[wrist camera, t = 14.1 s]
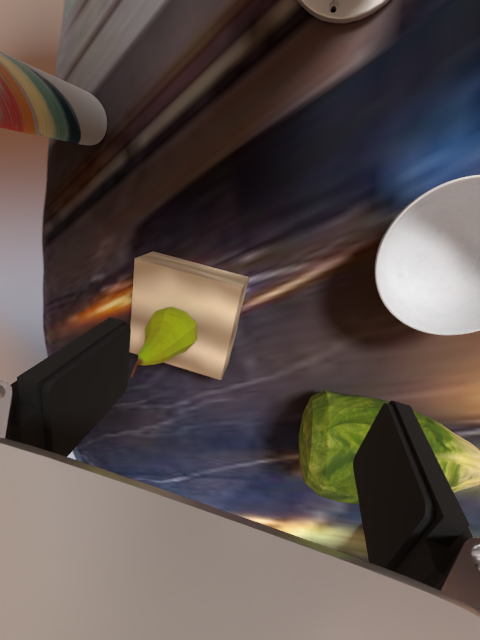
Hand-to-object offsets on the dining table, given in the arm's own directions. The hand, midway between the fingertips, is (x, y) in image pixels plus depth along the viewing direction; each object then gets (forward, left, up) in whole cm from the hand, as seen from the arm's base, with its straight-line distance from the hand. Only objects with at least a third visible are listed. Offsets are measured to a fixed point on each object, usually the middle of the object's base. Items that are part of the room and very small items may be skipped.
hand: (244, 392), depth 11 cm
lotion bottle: (-9, -28, -31) cm, 42 cm away
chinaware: (-4, +16, -31) cm, 35 cm away
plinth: (+12, -11, -30) cm, 34 cm away
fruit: (+12, -11, -26) cm, 30 cm away
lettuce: (+21, +20, -31) cm, 42 cm away
